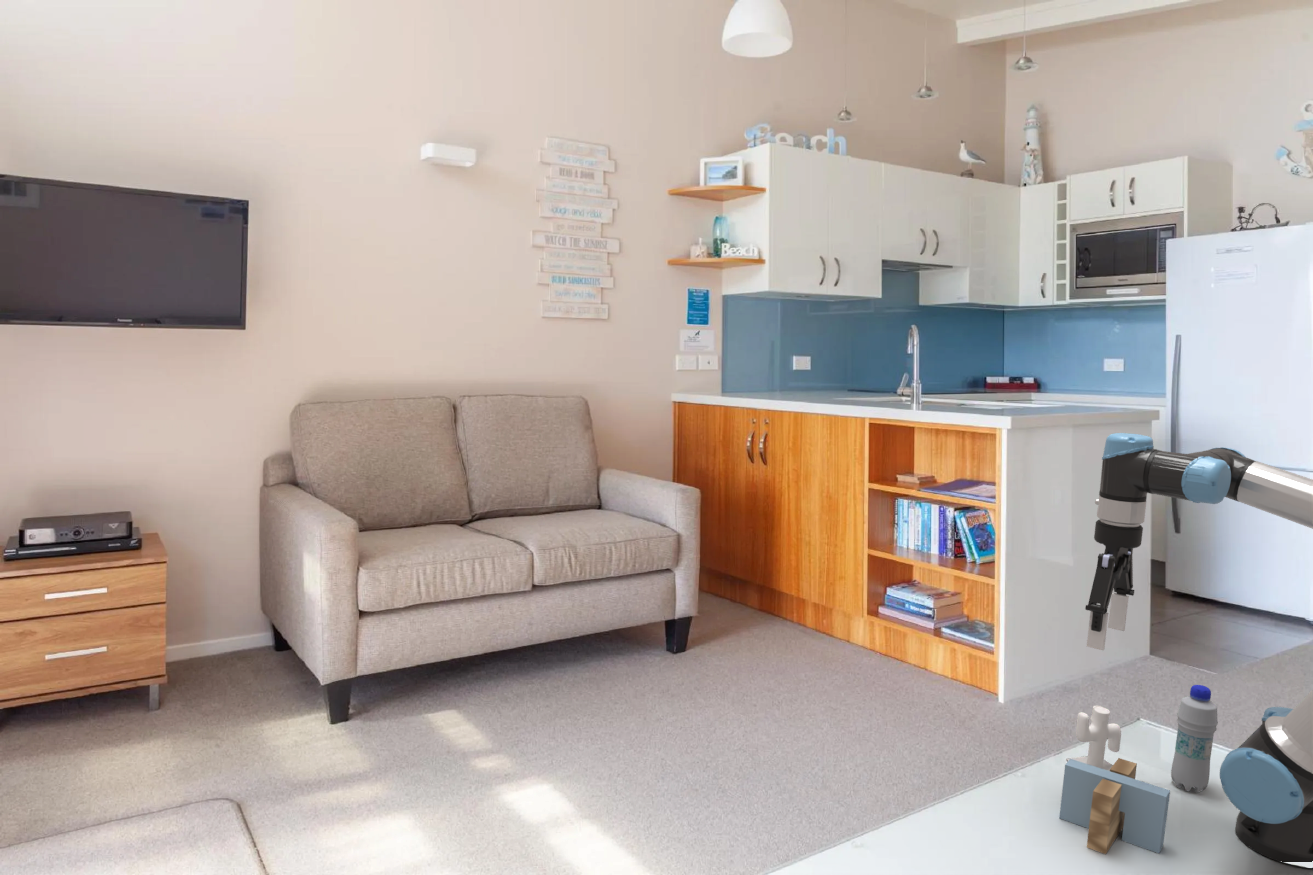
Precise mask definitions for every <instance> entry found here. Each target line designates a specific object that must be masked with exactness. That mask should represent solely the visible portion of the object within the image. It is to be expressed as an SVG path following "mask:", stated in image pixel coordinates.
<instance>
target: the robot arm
mask: <svg viewBox="0 0 1313 875" xmlns="http://www.w3.org/2000/svg"><path fill="white" fill-rule="evenodd" d="M1101 460H1102V463H1101V464H1102V465H1101V472H1100V484H1099V492H1098V493H1099V494H1098V499H1095V501H1094V503H1095V505H1097V511H1096V517H1097V518H1098V520H1096V521H1095V526H1094V535H1093V536H1094V537H1093V539H1094V541H1095V542H1096V543H1098V544H1100V545H1101V544H1102V545H1104V546H1105V548H1104V553H1099V554H1098V556H1097V565H1096V568H1095V574H1094V577H1093V581H1092V586H1091V590H1090V595H1089V598H1088V599H1089V600H1088V602H1087V604H1085V608H1084V609H1085V610H1086V611H1089V612H1090V613H1089V622H1088V631H1087V640H1086V647H1088V648H1092V649H1096V650H1100V651H1104V650H1105V647H1106V640H1107V639H1106V638H1107V637H1106V636H1107V628H1108V629H1111V630H1117V631H1120V632H1126V625H1127V624H1126V623H1127V616H1128V606H1129V605H1128V604H1129V597H1130V596H1132V597H1134V595H1135V589H1133V587H1134V584H1133V582H1134V580H1133V579H1134V577H1133V576H1134V574H1133V572H1134V570H1133V568H1134V567H1133V553H1134V549H1136V548H1139V547H1140V546H1141V545H1142V539H1143V531H1144V527H1143V526H1142V525H1141V524H1144V523H1145V518H1146V517H1145V516H1146V510H1147V508H1146V507H1147V497H1148V494H1151V495H1159V496H1162V497H1168V498H1174V499H1179V500H1183V501H1189V502H1192V503H1195V504H1200V503H1202V504H1210V505H1217V504H1220V503H1221V502H1223V500H1224V498H1227V499H1230V500H1233V501H1235V502H1238V503H1241V504H1244V505H1247V506H1250V507H1252V508H1255V509H1257V510H1261V511H1264V512H1266V513H1268V514H1271V515H1274V516H1277V517H1280V518H1282V519H1285V520H1287V521H1291V522H1294V523H1296V524H1299V525H1302V526H1304V527H1307V528H1310V529H1312V530H1313V479H1312V478H1310V477H1306V476H1303V475H1300V474H1297V473H1294V472H1292V471H1288V470H1286V469H1285V470H1284V469H1282V468H1278V467H1275V466H1273V465H1270V464H1268V463H1264V462H1261V461H1258V460H1254V459H1251V458H1248V457H1246V456H1245V454H1243V453H1242V452H1241V451H1240V450H1237V449H1235V448H1231V447H1214V448H1213V447H1212V448H1211V449H1207V450H1201V451H1195V452H1191V453H1181V452H1173V451H1172V452H1171V451H1165V450H1160V449H1157V448H1154V440H1153V438H1152V437H1151V436H1149V435H1143V434H1137V433H1126V432H1115V433H1111V434H1109V435H1108V436H1107V437H1106V439H1105V444H1104V449H1103V455H1102V457H1101ZM1109 605H1110V607H1109ZM1108 608H1109V612H1108ZM1261 722H1262V723H1261V724H1260V725H1259V726H1258V727H1257V728H1256V729H1255V731H1254V732H1252V733H1251V734H1250V735H1249V737H1247V738H1246V740H1245V741H1244V742H1243V743H1241V745H1239V746H1238V747H1237V748H1235V749H1233V750H1230V751H1229V752H1228V753H1227V754H1226V755H1225V757H1224V759H1223V761H1222V763H1221V765H1220V768H1219V779H1220V784H1221V787H1222V790H1223V792H1224V794H1225V795H1226V797H1227V799H1228V800H1229V801H1230V803H1231V804H1232V805H1233V806H1234V807H1235V808H1237V810H1239V813H1238V814H1237V816H1236V821H1235V828H1234V831H1235V834H1236V836H1237V837H1238V839H1240V841H1241V842H1242V843H1243V844H1245V846H1246V847H1248V848H1250V849H1251V850H1253V851H1254V852H1256V853H1258V854H1260V855H1262V856H1264V857H1266V858H1268V859H1271V860H1274V861H1276V862H1279V861H1282V862H1312V861H1313V689H1312V690H1311V691H1309V693H1308V694H1307V695H1306V696H1305V697H1304V698H1303V699H1302V700H1301V701H1300V702H1299V703H1298V704H1296V705H1295V707H1293V708H1289V707H1283V706H1271V707H1268V708H1266V709H1265V710H1264V711H1263V715H1262V717H1261ZM1282 862H1281V863H1282Z"/></svg>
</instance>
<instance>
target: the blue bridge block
mask: <svg viewBox="0 0 1313 875" xmlns="http://www.w3.org/2000/svg"><path fill="white" fill-rule="evenodd" d="M1063 773H1064V774H1063V783H1062V789H1061V790H1062V791H1061V800H1060V808H1059V809H1060V810H1059V816H1058V818H1059V819H1061V820H1063V821H1066V822H1068V823H1071V824H1075V825H1076V826H1077V825H1078V826H1080V827H1083V828H1085V829H1087V830H1089V823H1090V814H1091V805H1092V797H1093V791H1094V789H1095V788H1096V787H1097V785H1098V784H1099V783H1100V782H1101V780H1102V779H1105V780H1109V781H1112V782H1115V783H1118V784H1121V785H1122V787H1121V795H1120V803H1119V811H1121V812H1124V813H1125V818H1124V826H1123V829H1122V835H1121V836H1122V837H1121V841H1122V842H1126V843H1128V844H1131V845H1134V846H1137V847H1140V848H1142V849H1146V850H1148V851H1151V852H1153V853H1156V854H1159V853H1161V851H1162V849H1163V847H1164V841H1165V836H1166V835H1165V834H1166V827H1167V826H1166V825H1167V820H1168V811H1169V804H1170V797H1171V796H1170V795H1171V790H1170V789H1167V788H1164V787H1161V786H1158V785H1154V784H1151V783H1148V782H1145V781H1141V780H1138V779H1136V778H1135V779H1133V778H1130V777H1127V776H1123V775H1120V774H1117V773H1114V772H1111V771H1108V770H1104V769H1101V768H1098V767H1095V766H1092V765H1089V764H1085V763H1082V762H1079V761H1076V760H1073V759H1070V760H1069V761H1068V762H1067V761H1066V763H1065V764H1064V772H1063Z"/></svg>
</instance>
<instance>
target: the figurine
mask: <svg viewBox="0 0 1313 875" xmlns="http://www.w3.org/2000/svg"><path fill="white" fill-rule="evenodd" d="M1090 715H1091V716H1089V714H1087V713H1085V712H1083V711H1082V712H1078V713H1077V717H1076V719H1077V721H1076V727H1075V735H1076V740H1078V741H1079V742H1081V743H1089V744H1088V752H1087V755H1083V756H1077V757H1076V756H1075V757H1067V758H1065V761H1066V763H1067V762H1068V761H1069V760H1070V759H1073V760H1076V761H1079V762H1082V763H1085V764H1089V765H1092V766H1095V767H1098V768H1101V769H1104V770H1108V771H1110V769H1111V767H1112V766H1113V765H1114V764H1112V763H1110V762H1109V761H1108V760H1105V754H1106V753H1105V752H1106V744H1107V748H1108V750H1109V751H1110V752H1113V753H1118V752H1120V749H1121V748H1120V747H1121V740H1122V730H1121V727H1120V725H1119V724H1117V723H1114V722H1113V723H1109V720H1110V716H1111V710H1109V709H1108V708H1106V707H1103V706H1102V705H1093V707H1092V711H1091V714H1090ZM1090 721H1091V723H1090Z"/></svg>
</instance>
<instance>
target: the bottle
mask: <svg viewBox="0 0 1313 875" xmlns="http://www.w3.org/2000/svg"><path fill="white" fill-rule="evenodd" d="M1211 696H1212V691H1211V689H1210V688H1209V687H1207V686H1205V685H1203V684H1193V685H1192V686H1191V688H1190V691H1189V696H1185V697H1182V698H1181V700H1180V703H1179V708H1178V709H1177V710H1178V711H1177V713H1176V714H1177V715H1176V716H1177V718H1176V722H1177V725H1178V726H1177V731H1176V740H1175V747H1174V748H1175V749H1174V755H1173V758H1172V759H1173V760H1172V762H1171V763H1172V764H1171V769H1170V777H1171V780H1172V782H1173V783H1174V785H1175V786H1176V787H1178V788H1182V786H1184V790H1185V791H1187V792H1190V791H1191V790H1192V788H1194V792H1195V793H1200V792H1202V791H1204V790H1206V789H1207V787H1208V785H1209V781H1210V771H1211V770H1210V769H1211V758H1212V751H1213V742H1214V735H1215V733H1216V731H1217V727H1218V726H1217V725H1218V706H1217V704H1216V703H1214V702H1213V701H1211V698H1212V697H1211Z"/></svg>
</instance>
